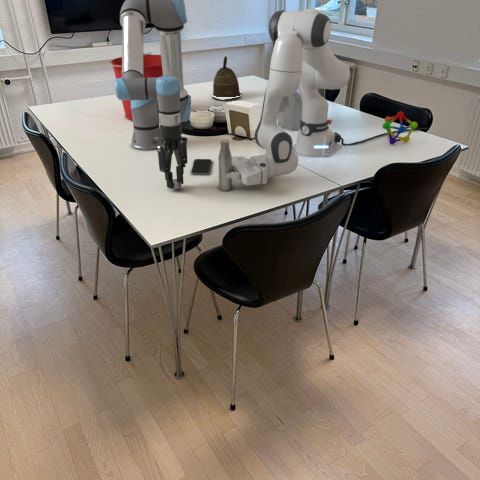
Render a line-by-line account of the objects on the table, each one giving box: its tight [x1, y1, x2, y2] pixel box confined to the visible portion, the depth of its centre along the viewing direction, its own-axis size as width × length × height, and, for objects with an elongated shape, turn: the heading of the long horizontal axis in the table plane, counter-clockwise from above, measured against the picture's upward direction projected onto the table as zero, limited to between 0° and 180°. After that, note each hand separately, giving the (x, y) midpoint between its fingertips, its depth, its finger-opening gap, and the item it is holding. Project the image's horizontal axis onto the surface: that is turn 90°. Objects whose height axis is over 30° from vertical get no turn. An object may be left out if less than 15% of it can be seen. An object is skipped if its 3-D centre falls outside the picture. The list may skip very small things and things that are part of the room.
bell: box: [212, 56, 242, 97], centre depth 278 cm, size 19×26×20 cm
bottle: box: [218, 139, 233, 192], centre depth 162 cm, size 5×5×18 cm
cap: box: [173, 178, 182, 190], centre depth 165 cm, size 4×4×2 cm
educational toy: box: [382, 110, 418, 145], centre depth 207 cm, size 16×13×15 cm
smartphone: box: [190, 158, 212, 176], centre depth 184 cm, size 7×1×15 cm
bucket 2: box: [277, 88, 326, 131], centre depth 226 cm, size 30×30×28 cm
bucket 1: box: [107, 51, 163, 122], centre depth 239 cm, size 35×35×30 cm
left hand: (175, 185), depth 166 cm, fingers open, 5 cm apart
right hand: (223, 172), depth 164 cm, fingers closed on bottle, 5 cm apart
